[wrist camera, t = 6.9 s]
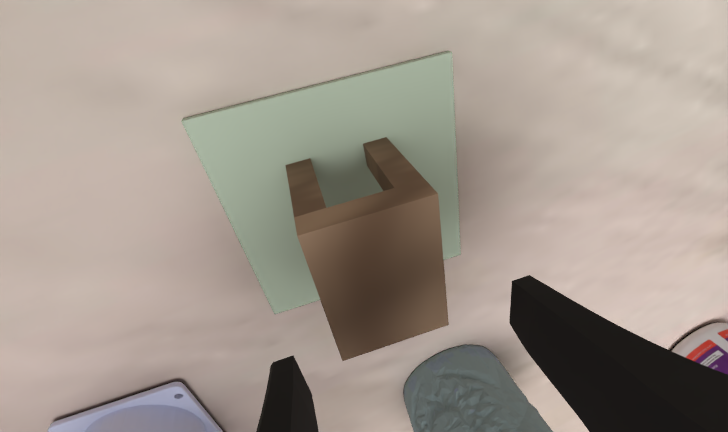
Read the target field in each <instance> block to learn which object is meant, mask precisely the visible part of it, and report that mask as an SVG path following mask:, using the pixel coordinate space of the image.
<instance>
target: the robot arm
mask: <svg viewBox="0 0 728 432" xmlns="http://www.w3.org/2000/svg"><path fill="white" fill-rule="evenodd" d="M510 325H511V326H512V328H513V330H514V331H515V333H516V335H517V336H518V338H519V339H520V341H521V343H522V344H523V346H524V347H525V349H526V350H527V352H528V353H529V355H530V356H531V357H532V358H533V360H534V361H535V362H536V364H537V365H538V366H539V367H540V369H541V370H542V371H543V372H544V374H545V375H546V376H547V378H548V379H549V380H550V381H551V383H552V384H553V385H554V386H555V388H556V389H557V390H558V391H559V393H560V394H561V395H562V396H563V398H564V399H565V400H566V401H567V403H568V404H569V405H570V406H571V408H572V409H573V410H574V411H575V413H576V414H577V415H578V417H579V418H580V419H581V421H582V422H583V423H584V425H585V426H586V427H587V429H588V430H589V432H728V374H725V373H722V372H720V371H717V370H714V369H712V368H709V367H707V366H705V365H702V364H700V363H697V362H695V361H692V360H690V359H688V358H686V357H683V356H681V355H679V354H676V353H674V352H672V351H669V350H667V349H665V348H663V347H661V346H658V345H656V344H654V343H652V342H650V341H648V340H646V339H644V338H642V337H640V336H638V335H636V334H634V333H632V332H630V331H628V330H626V329H624V328H622V327H620V326H618V325H616V324H614V323H612V322H610V321H608V320H607V319H605V318H603V317H601V316H599V315H597V314H596V313H594V312H592V311H590V310H588V309H587V308H585V307H583V306H581V305H580V304H578V303H576V302H574V301H573V300H571V299H569V298H567V297H566V296H564V295H562V294H561V293H559V292H557V291H555V290H554V289H552V288H550V287H549V286H547V285H545V284H544V283H542V282H540V281H538V280H537V279H535V278H533V277H532V276H530V275H529V276H526V277H523V278H520V279H517V280H514V281H512V292H511V307H510ZM48 432H223V431H222V430H221V428H220V427H219V426H218V425H217V424H216V422H215V421H214V420H213V419H212V418H211V416H210V415H209V414H208V413H207V412H206V410H205V409H204V408H203V407H202V406H201V404H200V403H199V402H198V401H197V400H196V398H195V397H194V396H193V395H192V394H191V392H190V391H189V390H188V389H187V387H186V386H185V385H184V384H183V383H181V382H172V383H169V384H166V385H163V386H160V387H157V388H154V389H151V390H148V391H145V392H142V393H139V394H136V395H133V396H130V397H127V398H124V399H121V400H118V401H115V402H112V403H109V404H106V405H103V406H100V407H97V408H94V409H91V410H88V411H85V412H82V413H79V414H76V415H73V416H70V417H67V418H64V419H61V420H58V421H55V422H53V423H51V424H50V426H49V428H48ZM256 432H318V426H317V420H316V415H315V409H314V404H313V399H312V394H311V391H310V389H309V387H308V385H307V383H306V381H305V379H304V377H303V375H302V373H301V371H300V369H299V366H298V364H297V362H296V360H295V358H294V356H290V357H287V358H284V359H282V360H279V361H276V362H273V363H272V365H271V368H270V374H269V380H268V385H267V390H266V395H265V399H264V404H263V408H262V412H261V416H260V420H259V424H258V428H257V431H256Z"/></svg>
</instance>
